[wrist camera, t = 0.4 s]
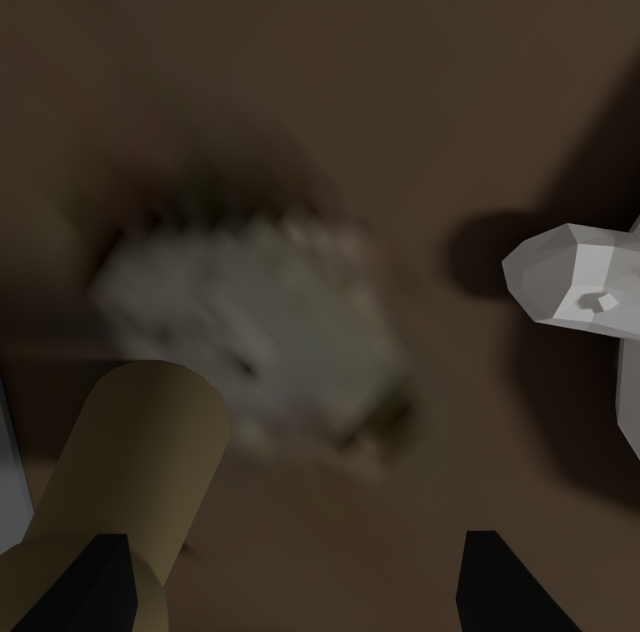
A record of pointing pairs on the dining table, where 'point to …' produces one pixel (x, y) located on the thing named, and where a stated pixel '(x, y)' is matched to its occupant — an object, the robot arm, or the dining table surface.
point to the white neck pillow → (587, 296)
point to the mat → (11, 484)
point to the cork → (124, 485)
